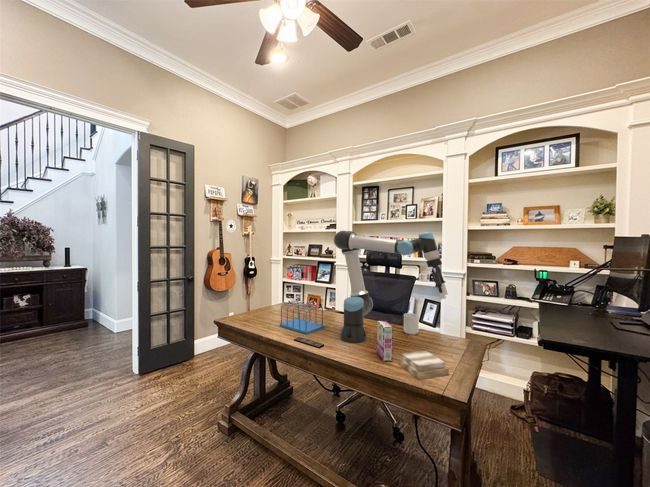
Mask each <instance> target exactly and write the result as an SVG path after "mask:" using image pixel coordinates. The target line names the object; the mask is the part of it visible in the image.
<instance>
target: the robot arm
mask: <svg viewBox="0 0 650 487" xmlns="http://www.w3.org/2000/svg"><path fill="white" fill-rule="evenodd" d="M333 243H334V246H335V247H336V248H337V249H339V250H341V254H342V255H344V258H345V264H346V267H347V273H348V277H349V279H348V280H349V283H350V288H351V294H350V295H349V297H347V298H345V299H344V300H343V326H342V328H341V332H340V339H341V340H342V341H343V342H345V343H351V344H354V343H356V344H357V343H358V344H359V343H363V342H365V341H367V333H366V330H365V325H364V321H365V319H364V317H365V316H367V315H368V314H369V313H370V312H371V311H372V309H373V306H374V303H373V302H374V301H373V299H372V298H371V297H370V294H369V291H368V290H366V287H365V282H364V277H363V272H362V266H361V261H360V257H359V253H360V250H368V251H373V252H374V251H375V252H383V253H391V254H397V255H398V254H399V255H401V256H409V255H412V254H416V253H420V252H423V256H424V259H425V261H426V265H427V268H432V269H431V272H432V274H433V278H434V284H435V285H434V287H435V288H436V289H437V292H438V295H439V299H440V300H445V299H446V295H448V291H447V287H446V284H445V283H446V281H445V280H444V276H443V274H442V271H441V270H442V269H441V268H440V265H442V264H443V263H442V259H441V258H440V253H441V252H440V251H439V249H438V247H437V243H436V240H435V237H434V235H433V232H432V231H426V232H423V233H422V232H421V233H419V234H418V237H417V238H415V239H411V240H404V239H403V240H402V239H401V240H400V239H394V238H386V237H385V238H384V237H383V238H382V237H375V236H365V235H358V234H357V232H355V231H351V230H340V231H338V232H337V233H336V234H335V235H334V237H333Z"/></svg>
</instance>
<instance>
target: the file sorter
mask: <svg viewBox="0 0 650 487" xmlns="http://www.w3.org/2000/svg"><path fill="white" fill-rule="evenodd" d="M286 304H288V306H287V307H286V321H283V306H284V305H286ZM293 305H295V306H293ZM305 305H307V306H305ZM290 306H293V308H292V319H291V320H289V319H288V318H289V317H288V316H289V307H290ZM301 306H303V307H301ZM313 306H314V307H313ZM300 307H301V308H300ZM295 308H297V318H294V314H295ZM305 308H308V309H307V310H306V311H305V314H303V318H301V310H302V309H305ZM317 308H321V323H317V322H314V321H311V310H314V309H315V310H317ZM308 311H309V317H308V318H309V320H307V316H308V315H307V314H308ZM314 312H315V314H314V315H315V317H314V318H315V319H317V311H314ZM279 327H281V328H285V329H288V330H290V331H294V332H297V333H300V334H303V335H309V334H311V333H313V332H316V331H319V330H322V329H325V325H324V307H323V306H322V305H318V306H317V305H316V304H314V303H313V304H310V303H308V302H307V303H306V302H305V303H304V302H303V301H298V300H292V301H287V302H284V303H282V304H281V307H280V322H279Z"/></svg>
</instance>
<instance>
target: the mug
mask: <svg viewBox="0 0 650 487" xmlns="http://www.w3.org/2000/svg"><path fill="white" fill-rule="evenodd" d="M419 319H420V318H419V315H418V314H417V313H410V312H409V313H403V333H405V334H407V335H411V336H413V335H415V336H416V335H417V334H418V333H419V327H420V326H419Z"/></svg>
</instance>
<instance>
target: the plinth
mask: <svg viewBox="0 0 650 487" xmlns="http://www.w3.org/2000/svg"><path fill="white" fill-rule="evenodd" d="M398 364H399V365H400V366H401V367H402V368H404V370H406V371H407V372H408V373H409V374H410V375H412V376H413V377H415V378H416V379H417V380H425V379H429V378H430V379H431V378H437V377H442V376H449V375H450V373H449V372H450V369H449V368H448V367H447V366H446V362H445V361H444V360H442V359H440V358H438V357H437V356H435V355H434V354H432V353H430V352H429V351H427V350H421V351H414V352H406V353H405V352H403V353H402V354H401V358H398ZM424 378H425V379H424Z"/></svg>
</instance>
